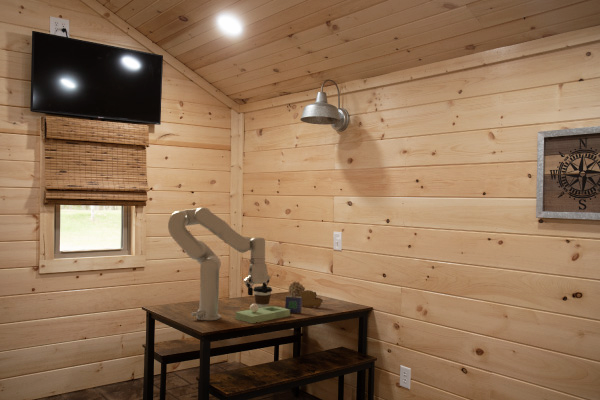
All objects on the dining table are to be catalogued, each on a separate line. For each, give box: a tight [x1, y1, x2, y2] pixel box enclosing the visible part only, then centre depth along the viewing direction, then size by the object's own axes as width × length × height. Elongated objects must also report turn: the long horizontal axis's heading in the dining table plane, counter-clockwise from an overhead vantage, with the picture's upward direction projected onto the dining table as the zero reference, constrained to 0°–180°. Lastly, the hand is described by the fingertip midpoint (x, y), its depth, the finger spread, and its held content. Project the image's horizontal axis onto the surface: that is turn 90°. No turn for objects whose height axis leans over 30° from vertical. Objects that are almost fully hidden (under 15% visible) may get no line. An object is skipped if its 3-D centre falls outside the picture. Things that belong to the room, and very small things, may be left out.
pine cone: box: [288, 281, 306, 297], centre depth 322 cm, size 22×10×10 cm, turn 34°
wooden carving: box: [299, 289, 324, 309], centre depth 296 cm, size 16×5×10 cm, turn 75°
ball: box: [249, 303, 259, 313], centre depth 262 cm, size 5×5×5 cm
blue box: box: [284, 294, 303, 314], centre depth 280 cm, size 9×3×11 cm, turn 80°
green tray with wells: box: [234, 305, 291, 324], centre depth 266 cm, size 27×13×3 cm, turn 136°
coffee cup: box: [253, 285, 273, 308], centre depth 287 cm, size 11×11×12 cm
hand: (257, 294), depth 263 cm, fingers open, 9 cm apart
